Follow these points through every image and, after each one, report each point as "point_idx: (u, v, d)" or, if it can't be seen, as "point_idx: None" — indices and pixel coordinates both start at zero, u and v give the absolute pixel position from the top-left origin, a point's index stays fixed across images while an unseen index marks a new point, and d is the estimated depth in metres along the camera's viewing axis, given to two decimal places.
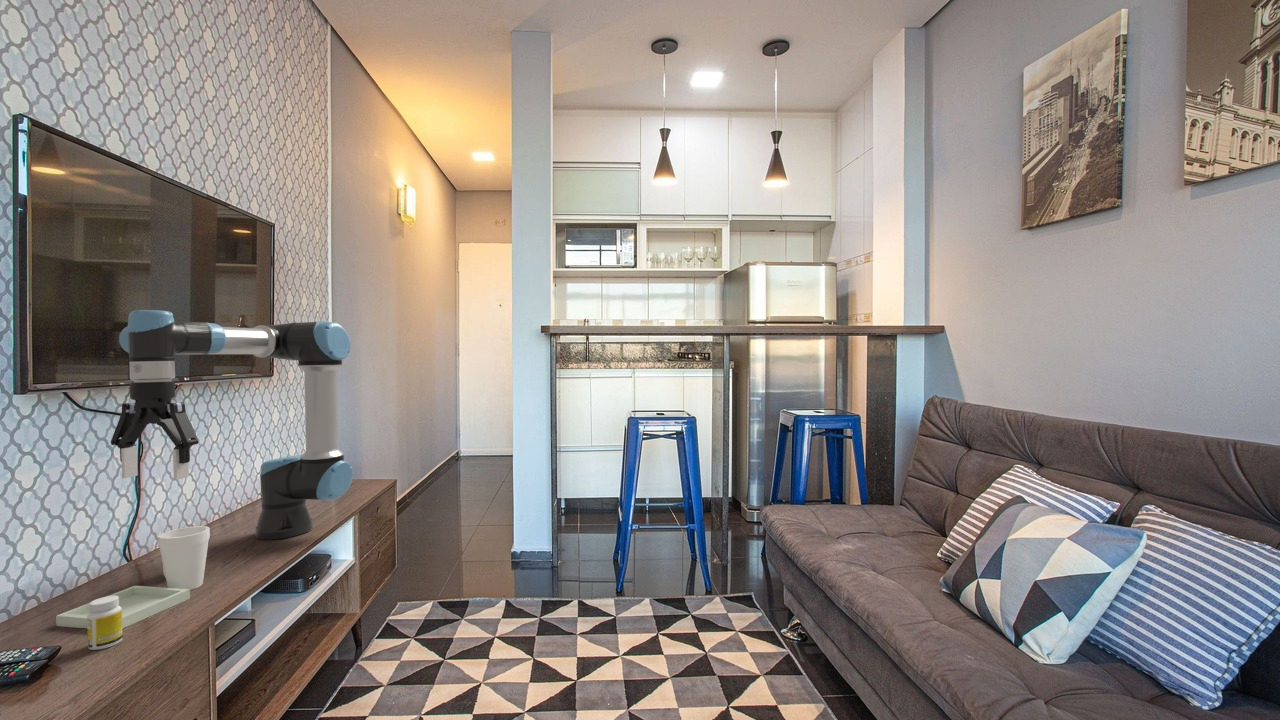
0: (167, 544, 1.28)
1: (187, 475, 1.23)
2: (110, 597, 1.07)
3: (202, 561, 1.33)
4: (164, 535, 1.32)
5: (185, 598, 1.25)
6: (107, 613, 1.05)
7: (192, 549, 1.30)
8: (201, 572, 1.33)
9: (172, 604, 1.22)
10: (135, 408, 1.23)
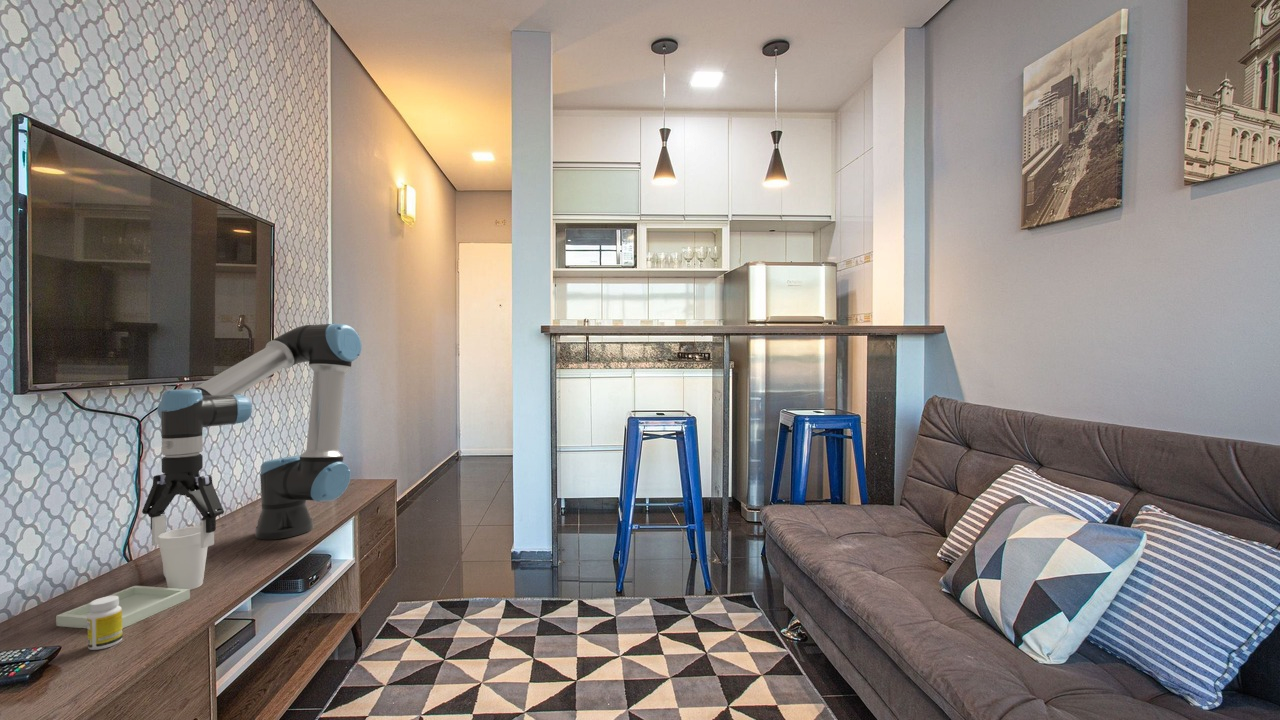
0: (167, 544, 1.28)
1: (213, 543, 1.32)
2: (110, 597, 1.07)
3: (202, 561, 1.33)
4: (164, 535, 1.32)
5: (185, 598, 1.25)
6: (107, 613, 1.05)
7: (192, 549, 1.30)
8: (201, 572, 1.33)
9: (172, 604, 1.22)
10: (166, 480, 1.32)
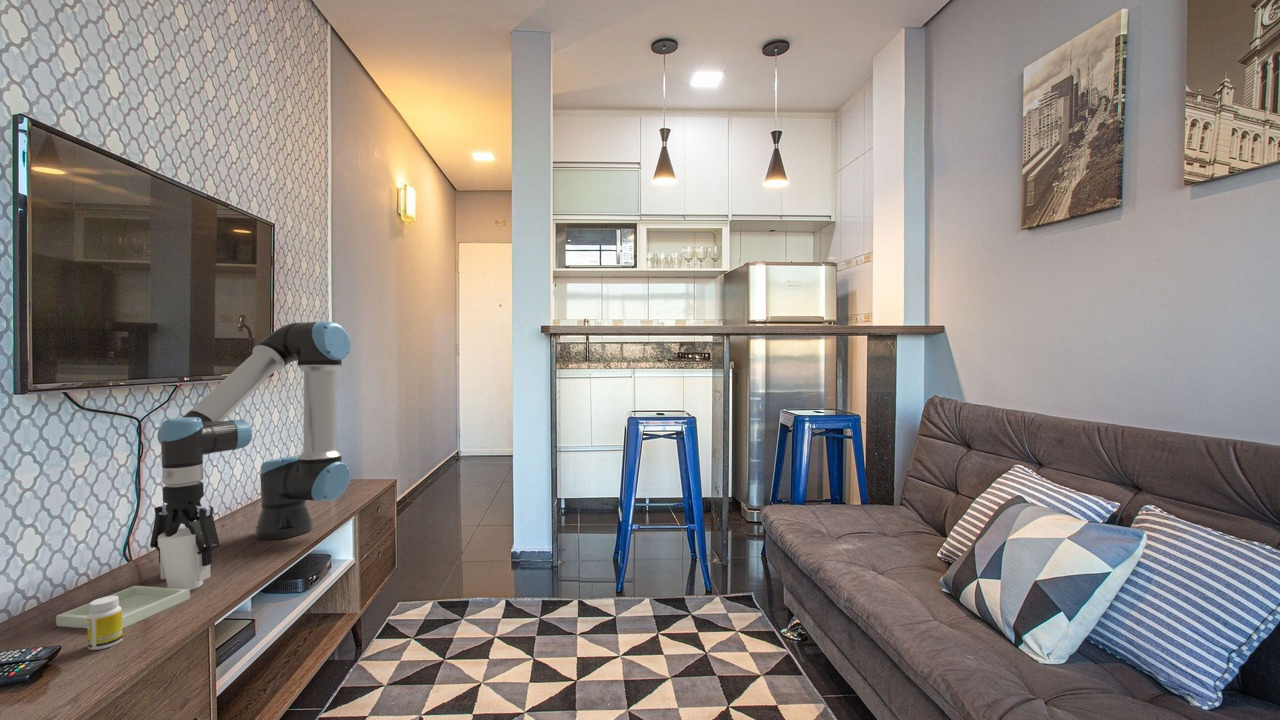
0: (167, 544, 1.28)
1: (209, 575, 1.33)
2: (110, 597, 1.07)
3: None
4: (164, 535, 1.32)
5: (185, 598, 1.25)
6: (107, 613, 1.05)
7: (192, 549, 1.30)
8: None
9: (172, 604, 1.22)
10: (167, 509, 1.32)
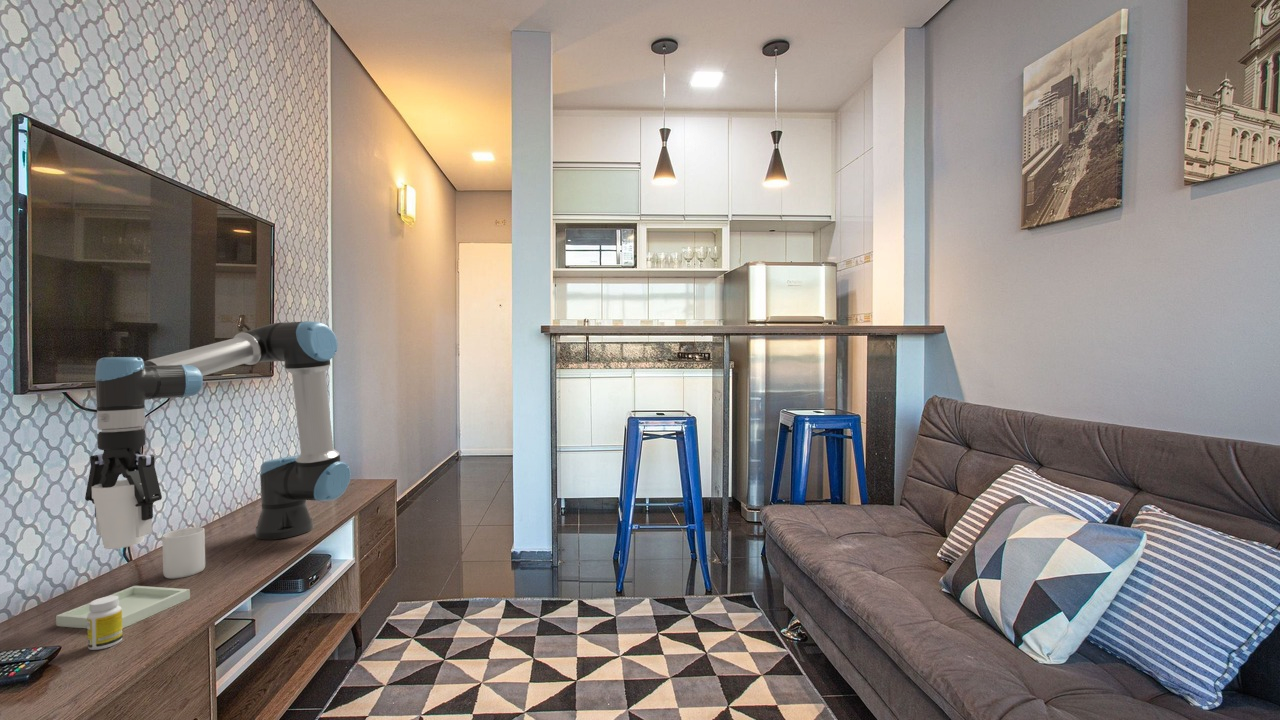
0: (101, 495, 1.15)
1: (150, 531, 1.20)
2: (110, 597, 1.07)
3: None
4: (100, 486, 1.19)
5: (185, 598, 1.25)
6: (107, 613, 1.05)
7: (130, 501, 1.17)
8: None
9: (172, 604, 1.22)
10: (103, 458, 1.19)
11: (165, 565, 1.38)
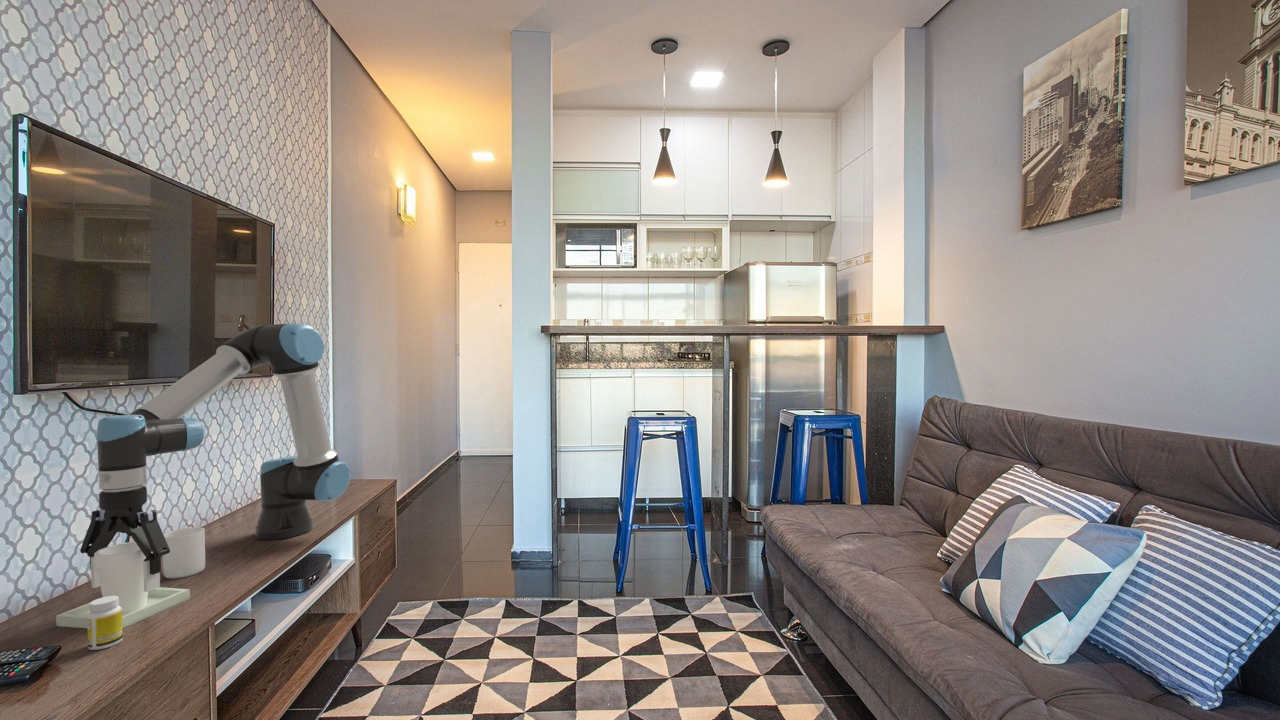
0: (104, 562, 1.15)
1: (158, 585, 1.20)
2: (110, 597, 1.07)
3: None
4: (102, 551, 1.19)
5: (185, 598, 1.25)
6: (107, 613, 1.05)
7: (132, 567, 1.18)
8: (144, 592, 1.20)
9: (172, 604, 1.22)
10: (105, 516, 1.19)
11: (165, 565, 1.38)
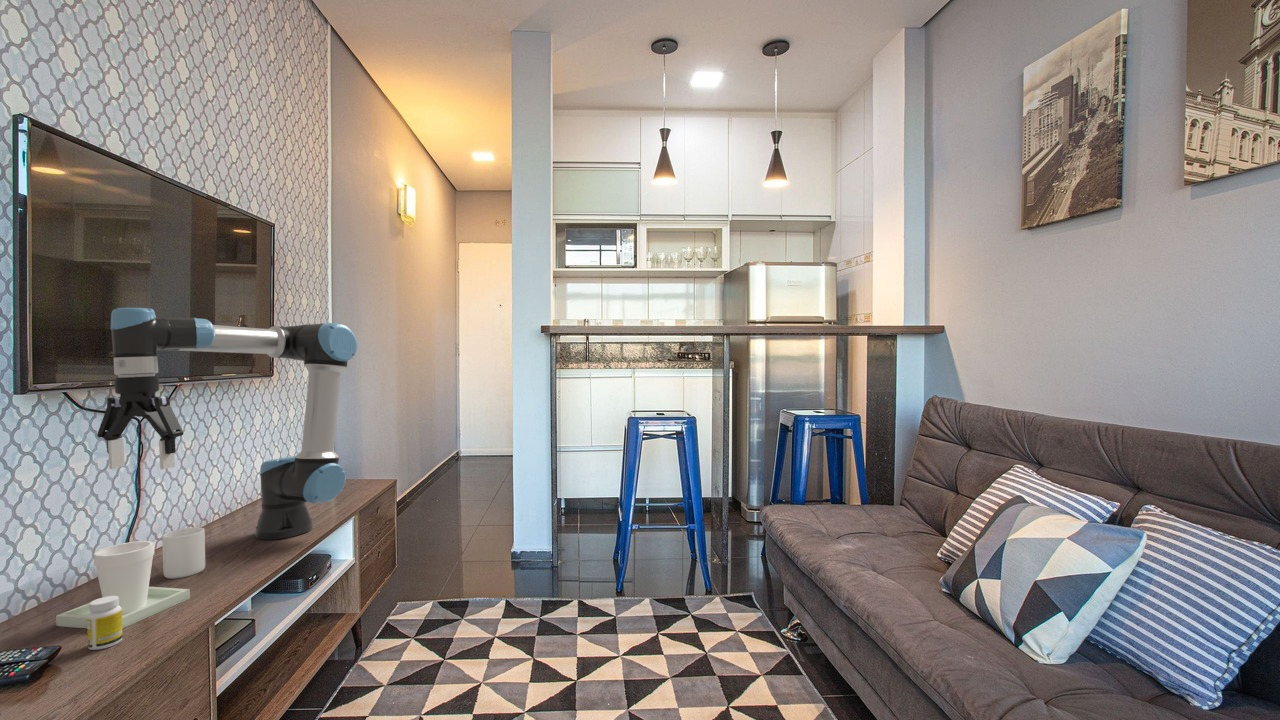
0: (103, 562, 1.15)
1: (173, 465, 1.29)
2: (110, 597, 1.07)
3: (144, 580, 1.20)
4: (102, 552, 1.19)
5: (185, 598, 1.25)
6: (107, 613, 1.05)
7: (132, 567, 1.18)
8: (143, 592, 1.20)
9: (172, 604, 1.22)
10: (120, 402, 1.28)
11: (165, 565, 1.38)
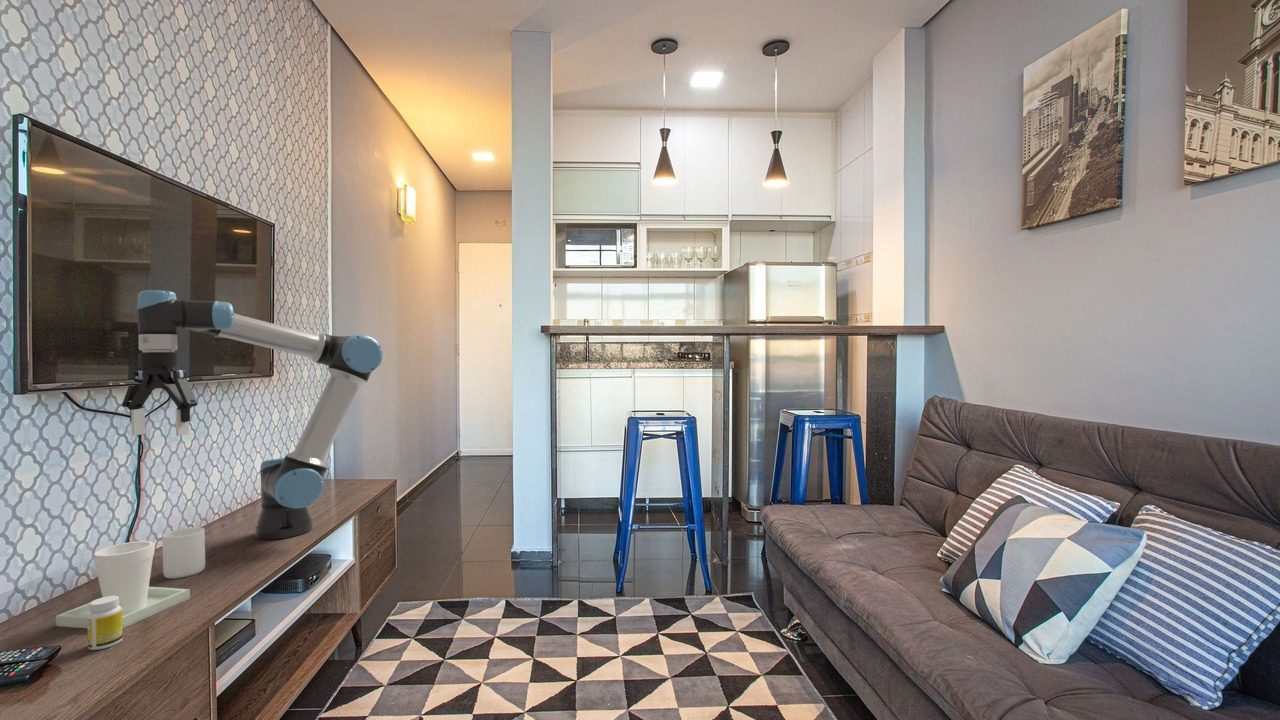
0: (103, 562, 1.15)
1: (188, 432, 1.43)
2: (110, 597, 1.07)
3: (145, 580, 1.20)
4: (102, 552, 1.19)
5: (185, 598, 1.25)
6: (107, 613, 1.05)
7: (132, 567, 1.18)
8: (143, 592, 1.20)
9: (172, 604, 1.22)
10: (143, 375, 1.43)
11: (165, 565, 1.38)
